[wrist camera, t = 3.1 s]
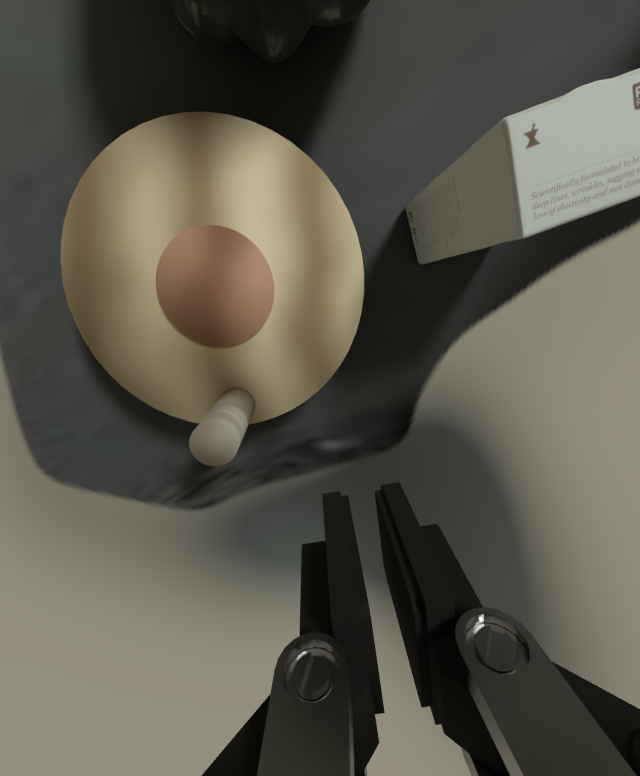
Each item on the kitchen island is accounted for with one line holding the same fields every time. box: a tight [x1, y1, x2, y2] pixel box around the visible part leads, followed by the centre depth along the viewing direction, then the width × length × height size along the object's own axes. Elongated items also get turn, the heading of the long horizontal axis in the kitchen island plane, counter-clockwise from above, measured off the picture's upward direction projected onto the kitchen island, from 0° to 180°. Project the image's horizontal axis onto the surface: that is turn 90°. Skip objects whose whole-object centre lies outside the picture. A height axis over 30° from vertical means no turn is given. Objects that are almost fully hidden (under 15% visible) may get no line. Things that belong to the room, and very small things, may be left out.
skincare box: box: [405, 68, 640, 264], centre depth 18 cm, size 6×4×12 cm
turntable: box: [61, 112, 364, 466], centre depth 19 cm, size 18×18×8 cm
